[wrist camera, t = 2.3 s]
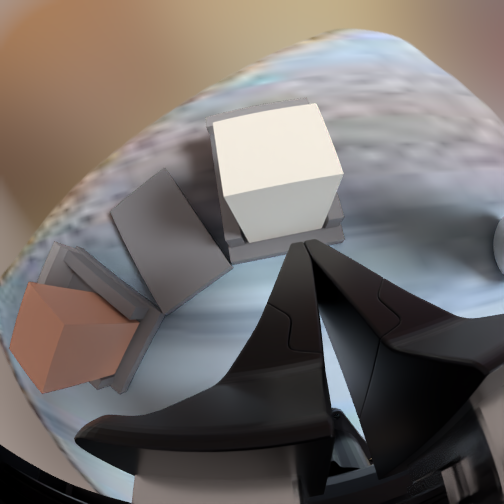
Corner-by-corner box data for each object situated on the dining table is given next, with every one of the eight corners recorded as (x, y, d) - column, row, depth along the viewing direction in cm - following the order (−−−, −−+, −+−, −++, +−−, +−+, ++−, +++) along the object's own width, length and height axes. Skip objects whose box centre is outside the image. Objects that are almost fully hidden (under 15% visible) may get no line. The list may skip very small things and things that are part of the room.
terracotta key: (139, 322, 19) (64, 324, 11) (114, 373, 18) (42, 393, 10) (104, 293, 19) (28, 281, 12) (82, 343, 19) (9, 348, 11)
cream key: (321, 228, 18) (343, 173, 11) (249, 242, 19) (223, 196, 11) (307, 176, 19) (316, 103, 12) (239, 190, 20) (212, 122, 12)
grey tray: (383, 209, 19) (402, 188, 16) (96, 408, 19) (68, 419, 15) (279, 102, 22) (277, 71, 19) (41, 288, 22) (13, 283, 18)
